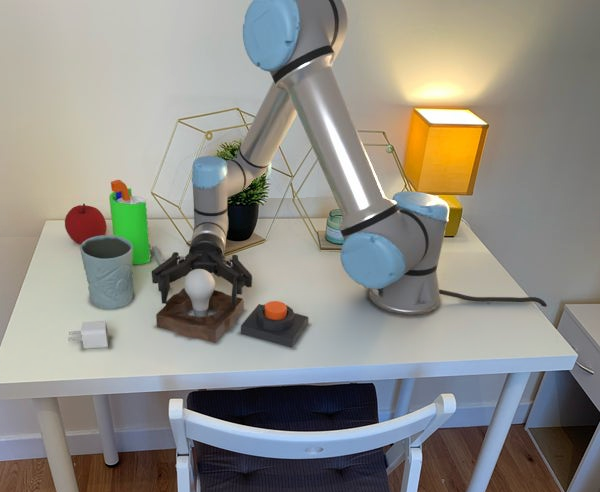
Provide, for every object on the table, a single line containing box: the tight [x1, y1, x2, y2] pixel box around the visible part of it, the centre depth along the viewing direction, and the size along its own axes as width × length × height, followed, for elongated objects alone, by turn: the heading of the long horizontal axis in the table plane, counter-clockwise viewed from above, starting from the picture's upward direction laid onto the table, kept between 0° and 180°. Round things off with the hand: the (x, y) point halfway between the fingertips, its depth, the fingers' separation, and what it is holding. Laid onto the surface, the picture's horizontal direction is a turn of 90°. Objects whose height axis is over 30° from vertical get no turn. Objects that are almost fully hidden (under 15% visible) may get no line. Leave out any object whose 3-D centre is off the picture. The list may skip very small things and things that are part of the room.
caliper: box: [151, 245, 165, 267], centre depth 147 cm, size 21×1×6 cm, turn 17°
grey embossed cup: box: [79, 234, 134, 310], centre depth 134 cm, size 10×10×12 cm
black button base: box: [240, 303, 309, 348], centre depth 132 cm, size 11×9×4 cm
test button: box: [264, 300, 288, 320], centre depth 130 cm, size 4×4×2 cm
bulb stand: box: [155, 287, 245, 344], centre depth 133 cm, size 14×14×3 cm
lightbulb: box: [183, 269, 216, 317], centre depth 131 cm, size 6×6×11 cm
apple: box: [64, 203, 108, 245], centre depth 153 cm, size 9×9×10 cm
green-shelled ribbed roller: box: [108, 179, 152, 265], centre depth 147 cm, size 9×8×18 cm
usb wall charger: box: [67, 320, 109, 350], centre depth 124 cm, size 4×7×4 cm, turn 102°
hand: (198, 299), depth 128 cm, fingers open, 13 cm apart
